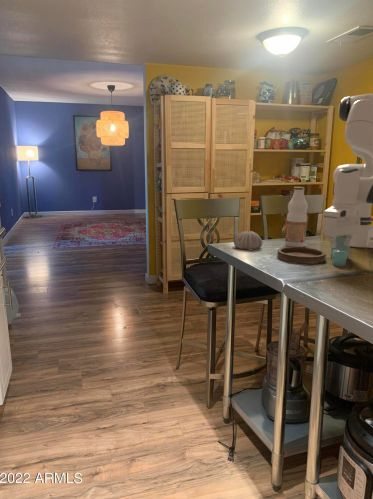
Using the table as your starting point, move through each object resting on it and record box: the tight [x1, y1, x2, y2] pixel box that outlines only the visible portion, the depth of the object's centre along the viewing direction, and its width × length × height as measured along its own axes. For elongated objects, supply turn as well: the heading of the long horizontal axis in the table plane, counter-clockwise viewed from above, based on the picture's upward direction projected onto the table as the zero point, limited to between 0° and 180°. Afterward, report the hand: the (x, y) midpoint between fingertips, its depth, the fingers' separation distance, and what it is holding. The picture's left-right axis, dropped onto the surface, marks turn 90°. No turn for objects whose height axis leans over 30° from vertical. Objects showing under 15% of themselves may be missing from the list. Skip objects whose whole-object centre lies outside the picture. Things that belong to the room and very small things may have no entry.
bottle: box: [330, 235, 351, 260], centre depth 159 cm, size 7×7×15 cm
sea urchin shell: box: [233, 230, 264, 251], centre depth 178 cm, size 13×14×8 cm
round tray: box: [276, 246, 327, 265], centre depth 160 cm, size 19×19×3 cm
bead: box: [331, 250, 347, 267], centre depth 150 cm, size 5×5×6 cm
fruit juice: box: [284, 186, 309, 247], centre depth 182 cm, size 9×9×28 cm
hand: (340, 246), depth 148 cm, fingers open, 8 cm apart
